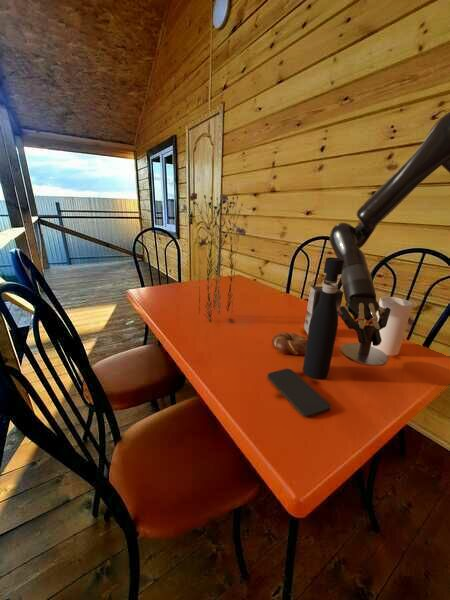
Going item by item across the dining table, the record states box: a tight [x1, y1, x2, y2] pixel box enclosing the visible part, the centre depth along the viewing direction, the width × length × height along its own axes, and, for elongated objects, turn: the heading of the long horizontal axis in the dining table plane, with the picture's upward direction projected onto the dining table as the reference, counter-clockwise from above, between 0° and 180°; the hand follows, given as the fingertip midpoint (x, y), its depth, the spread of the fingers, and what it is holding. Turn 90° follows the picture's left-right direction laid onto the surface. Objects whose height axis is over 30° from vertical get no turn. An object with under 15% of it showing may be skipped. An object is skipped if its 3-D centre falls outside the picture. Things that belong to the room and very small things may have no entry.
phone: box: [267, 368, 332, 418], centre depth 59 cm, size 7×1×15 cm
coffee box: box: [303, 285, 344, 335], centre depth 87 cm, size 9×6×16 cm
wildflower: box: [189, 192, 246, 323], centre depth 91 cm, size 22×23×45 cm
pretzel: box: [271, 332, 307, 356], centre depth 78 cm, size 12×11×4 cm
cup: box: [371, 296, 414, 357], centre depth 77 cm, size 8×8×16 cm
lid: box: [340, 324, 389, 368], centre depth 65 cm, size 11×11×8 cm
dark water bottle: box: [302, 257, 344, 381], centre depth 62 cm, size 6×6×30 cm
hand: (370, 344), depth 63 cm, fingers closed on lid, 2 cm apart
